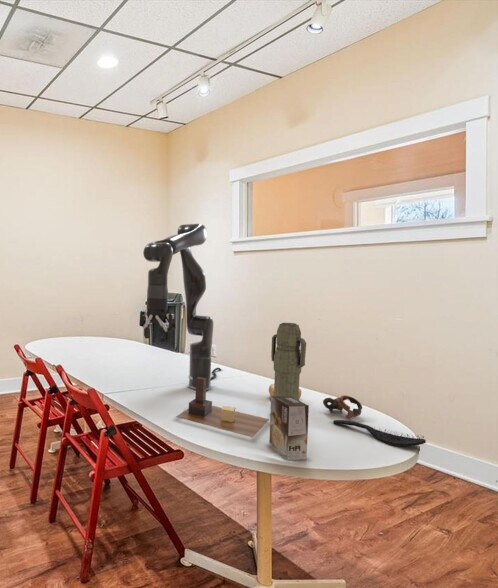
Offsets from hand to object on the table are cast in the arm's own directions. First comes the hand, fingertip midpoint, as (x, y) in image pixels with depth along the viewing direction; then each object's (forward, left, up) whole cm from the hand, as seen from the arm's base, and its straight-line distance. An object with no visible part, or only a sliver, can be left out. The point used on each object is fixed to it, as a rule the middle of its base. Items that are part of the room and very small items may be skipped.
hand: (156, 339), depth 149 cm
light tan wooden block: (-8, +24, -27) cm, 37 cm away
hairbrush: (-30, +64, -28) cm, 76 cm away
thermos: (-28, +38, -28) cm, 55 cm away
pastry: (-50, +33, -28) cm, 67 cm away
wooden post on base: (-8, +14, -27) cm, 31 cm away
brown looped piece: (-45, +53, -28) cm, 75 cm away
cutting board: (-8, +22, -28) cm, 37 cm away
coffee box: (+3, +45, -28) cm, 53 cm away
